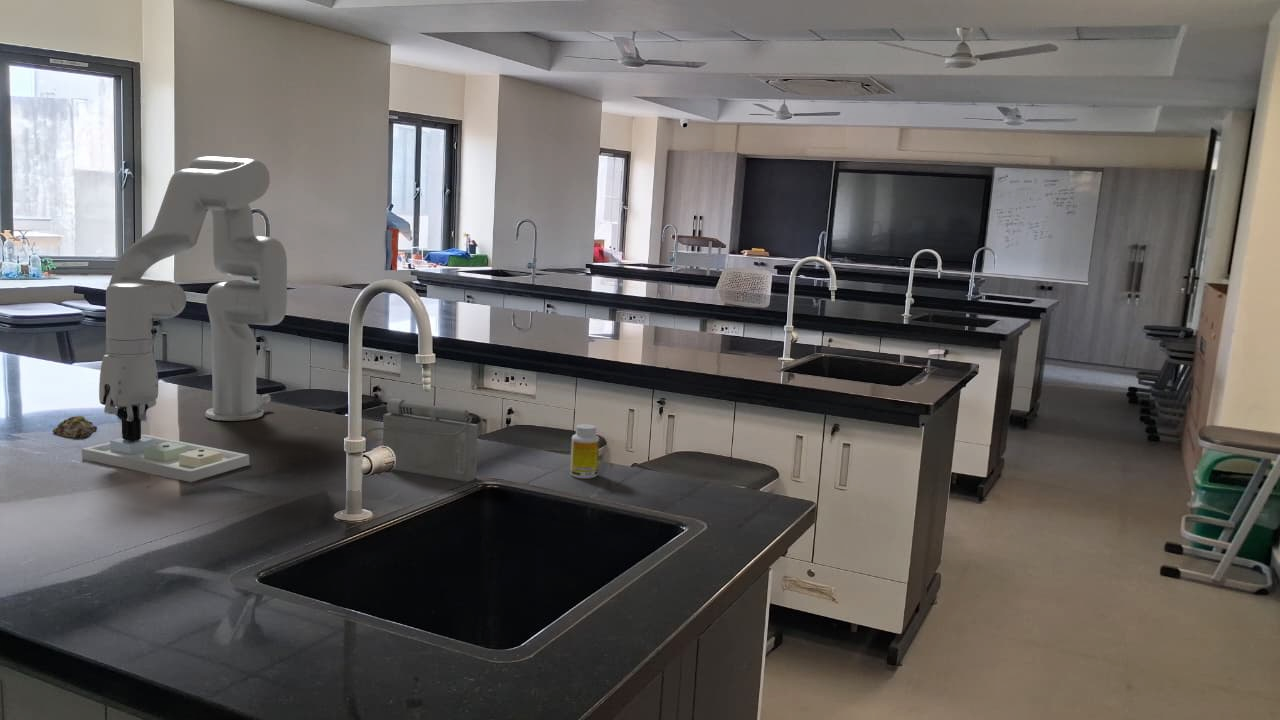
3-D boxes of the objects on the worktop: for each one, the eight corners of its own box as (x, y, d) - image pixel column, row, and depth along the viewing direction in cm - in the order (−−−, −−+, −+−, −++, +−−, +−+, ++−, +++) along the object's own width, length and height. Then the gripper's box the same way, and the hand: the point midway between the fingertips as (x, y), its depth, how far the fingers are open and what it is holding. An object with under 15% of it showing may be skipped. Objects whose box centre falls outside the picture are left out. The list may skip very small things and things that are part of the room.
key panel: (144, 443, 196) (144, 434, 195) (249, 464, 185) (249, 454, 185) (82, 458, 183) (81, 448, 182) (190, 482, 172) (190, 471, 172)
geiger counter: (482, 407, 184) (372, 392, 192) (466, 413, 178) (353, 397, 186) (480, 477, 186) (371, 459, 194) (463, 485, 180) (352, 466, 188)
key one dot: (167, 451, 187) (167, 440, 187) (187, 455, 185) (187, 444, 185) (144, 457, 182) (143, 446, 182) (164, 461, 180) (164, 450, 180)
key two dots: (201, 458, 184) (201, 447, 184) (222, 462, 182) (222, 451, 182) (178, 464, 179) (178, 453, 179) (200, 468, 177) (200, 457, 177)
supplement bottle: (601, 479, 190) (603, 429, 188) (574, 480, 188) (576, 429, 186) (592, 471, 195) (595, 422, 193) (566, 472, 193) (568, 423, 191)
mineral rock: (46, 420, 202) (87, 407, 206) (53, 438, 204) (94, 425, 208) (54, 432, 194) (97, 418, 198) (62, 451, 195) (104, 437, 200)
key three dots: (134, 444, 191) (134, 434, 190) (154, 448, 189) (153, 438, 188) (110, 450, 186) (110, 439, 185) (130, 454, 184) (130, 443, 183)
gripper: (148, 341, 192) (150, 429, 195) (80, 349, 178) (83, 444, 181) (175, 345, 189) (177, 434, 192) (108, 353, 176) (111, 450, 178)
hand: (131, 439), depth 187 cm, fingers closed
